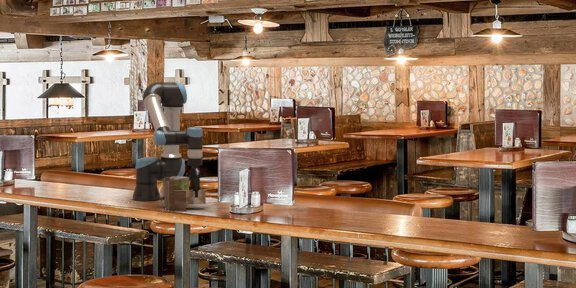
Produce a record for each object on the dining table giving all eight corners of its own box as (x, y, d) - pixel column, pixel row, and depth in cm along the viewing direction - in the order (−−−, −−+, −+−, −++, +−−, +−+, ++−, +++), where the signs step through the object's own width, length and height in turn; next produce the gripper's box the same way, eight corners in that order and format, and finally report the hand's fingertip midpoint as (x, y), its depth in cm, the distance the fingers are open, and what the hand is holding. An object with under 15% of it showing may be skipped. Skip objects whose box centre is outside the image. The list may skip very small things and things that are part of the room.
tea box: (180, 207, 458) (180, 178, 457) (161, 206, 460) (161, 178, 459) (189, 204, 473) (189, 176, 472) (171, 203, 475) (171, 175, 474)
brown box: (164, 207, 455) (164, 176, 454) (180, 207, 458) (181, 176, 457) (169, 211, 442) (169, 179, 441) (186, 210, 445) (186, 179, 444)
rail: (174, 205, 447) (174, 191, 447) (172, 203, 452) (172, 190, 452) (205, 204, 452) (205, 190, 452) (203, 203, 457) (203, 189, 456)
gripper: (184, 156, 459) (184, 201, 460) (191, 158, 442) (191, 205, 443) (198, 156, 461) (198, 201, 463) (206, 158, 444) (205, 205, 445)
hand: (194, 203), depth 453 cm, fingers closed on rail, 5 cm apart
